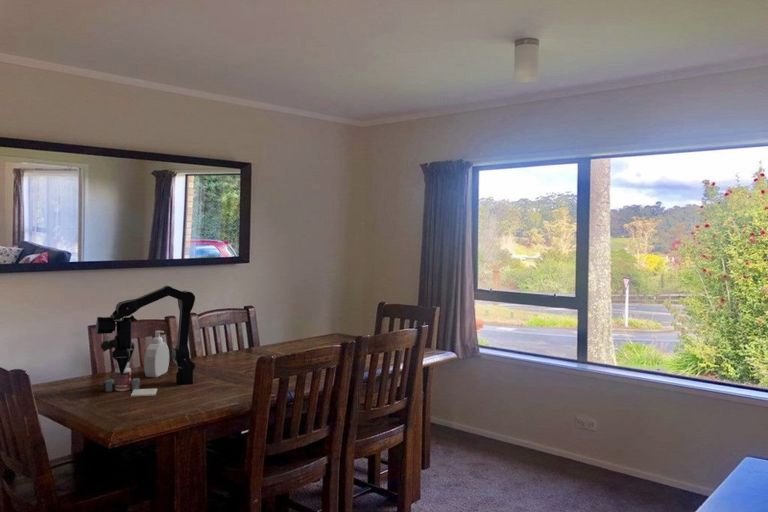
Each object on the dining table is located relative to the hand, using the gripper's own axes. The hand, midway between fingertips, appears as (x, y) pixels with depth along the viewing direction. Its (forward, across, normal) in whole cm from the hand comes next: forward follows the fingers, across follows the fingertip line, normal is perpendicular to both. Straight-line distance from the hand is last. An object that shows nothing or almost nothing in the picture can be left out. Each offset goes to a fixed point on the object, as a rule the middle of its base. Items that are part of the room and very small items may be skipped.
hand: (123, 370), depth 245 cm
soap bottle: (+8, -26, +11) cm, 29 cm away
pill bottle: (+8, 0, 0) cm, 8 cm away
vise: (+8, -1, -2) cm, 8 cm away
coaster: (+8, +8, +9) cm, 14 cm away
